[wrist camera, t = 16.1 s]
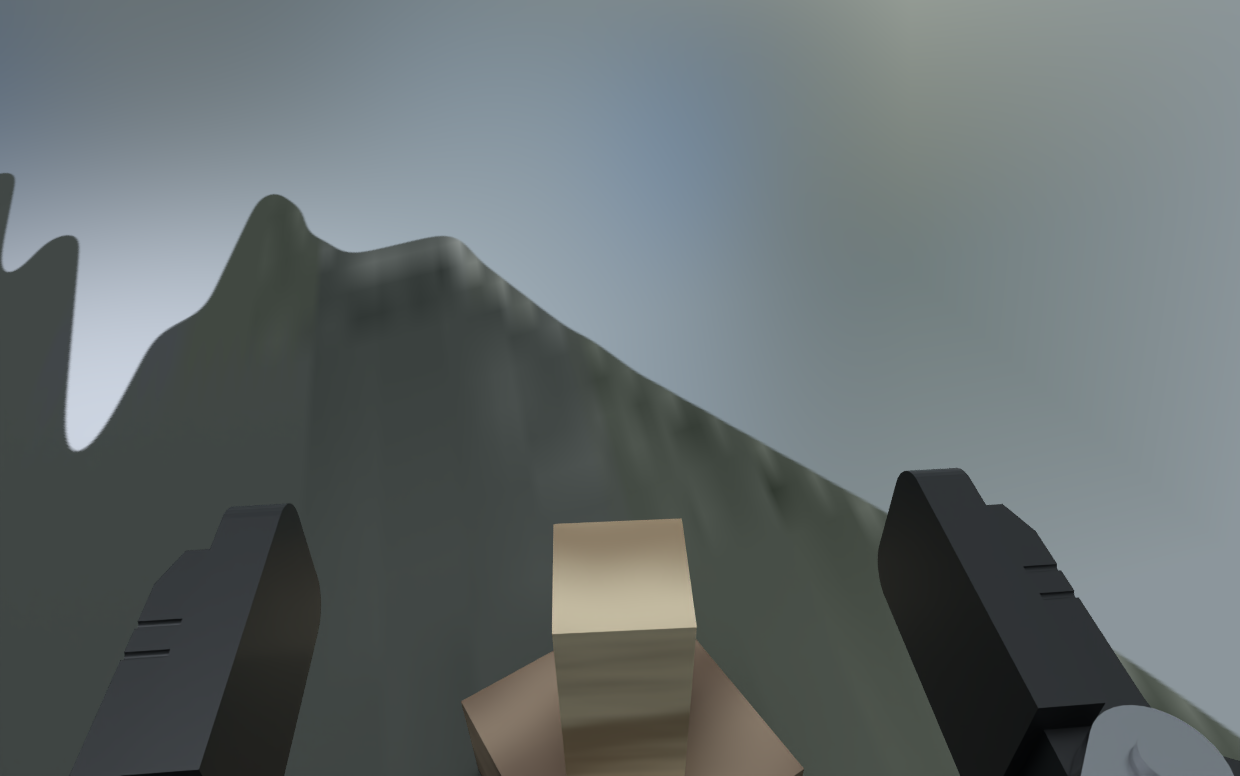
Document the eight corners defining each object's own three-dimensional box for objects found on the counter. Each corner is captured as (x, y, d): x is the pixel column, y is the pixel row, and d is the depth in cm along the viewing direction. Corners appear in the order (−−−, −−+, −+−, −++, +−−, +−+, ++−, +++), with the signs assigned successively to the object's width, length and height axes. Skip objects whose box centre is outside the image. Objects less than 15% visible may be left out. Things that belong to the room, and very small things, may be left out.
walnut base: (788, 837, 37) (804, 768, 33) (590, 984, 33) (582, 925, 29) (657, 667, 44) (658, 593, 40) (479, 771, 40) (461, 701, 36)
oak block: (684, 781, 33) (696, 627, 27) (567, 787, 33) (552, 633, 27) (673, 676, 37) (681, 518, 30) (567, 681, 36) (553, 524, 30)
